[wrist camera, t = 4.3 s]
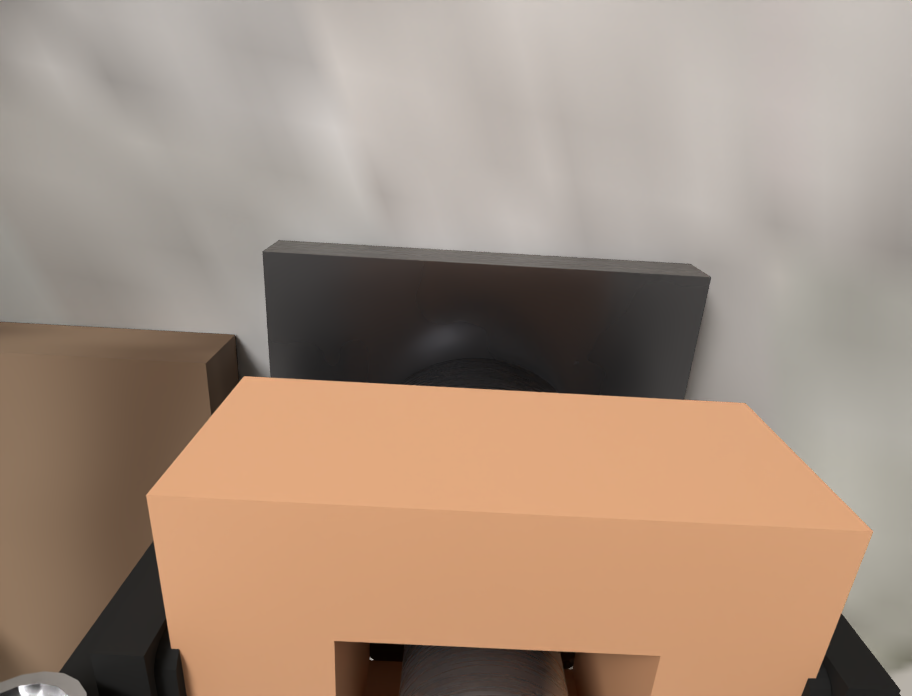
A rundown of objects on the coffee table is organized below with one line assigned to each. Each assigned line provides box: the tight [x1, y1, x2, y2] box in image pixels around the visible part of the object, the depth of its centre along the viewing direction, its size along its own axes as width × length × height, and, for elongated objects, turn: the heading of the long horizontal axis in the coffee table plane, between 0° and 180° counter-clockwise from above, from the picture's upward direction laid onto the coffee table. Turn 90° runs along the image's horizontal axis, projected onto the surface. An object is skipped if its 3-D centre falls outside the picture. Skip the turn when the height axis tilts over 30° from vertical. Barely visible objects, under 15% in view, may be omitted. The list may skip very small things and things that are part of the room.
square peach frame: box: [146, 376, 873, 696], centre depth 7 cm, size 6×6×2 cm
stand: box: [263, 240, 711, 696], centre depth 9 cm, size 8×8×8 cm
